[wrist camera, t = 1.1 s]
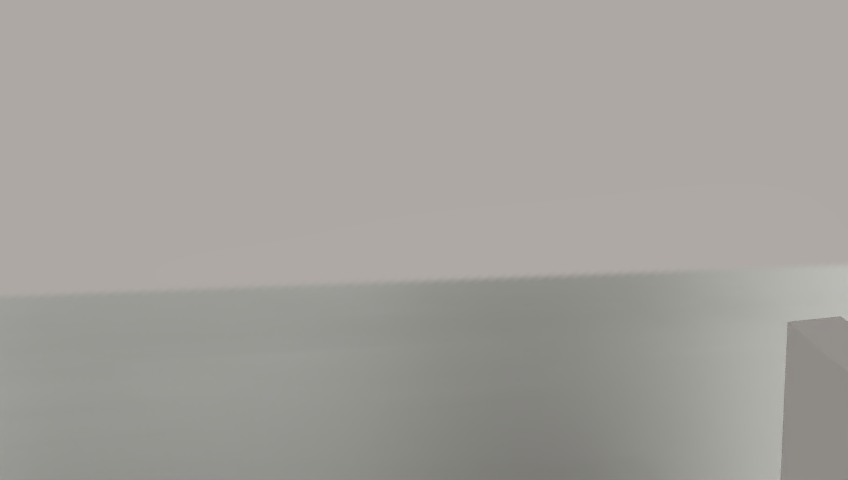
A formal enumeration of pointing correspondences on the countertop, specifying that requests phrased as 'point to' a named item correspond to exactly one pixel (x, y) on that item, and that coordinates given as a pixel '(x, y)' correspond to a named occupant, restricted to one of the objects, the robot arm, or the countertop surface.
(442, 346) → the countertop surface
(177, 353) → the countertop surface
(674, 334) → the countertop surface
